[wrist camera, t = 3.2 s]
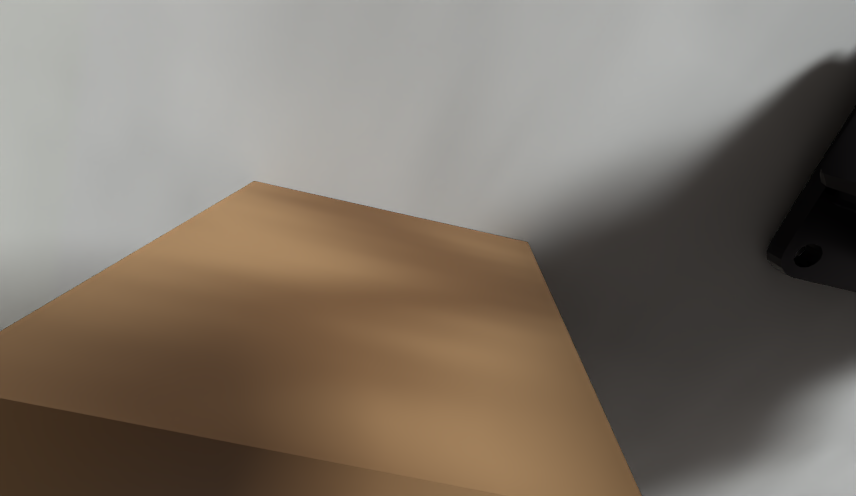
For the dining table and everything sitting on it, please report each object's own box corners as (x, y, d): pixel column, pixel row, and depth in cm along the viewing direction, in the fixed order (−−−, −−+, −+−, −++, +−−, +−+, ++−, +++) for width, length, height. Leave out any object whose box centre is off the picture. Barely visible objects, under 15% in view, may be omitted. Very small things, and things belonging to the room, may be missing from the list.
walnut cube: (527, 242, 9) (654, 524, 3) (459, 434, 11) (470, 778, 6) (254, 180, 9) (-85, 381, 3) (245, 391, 11) (45, 711, 6)
